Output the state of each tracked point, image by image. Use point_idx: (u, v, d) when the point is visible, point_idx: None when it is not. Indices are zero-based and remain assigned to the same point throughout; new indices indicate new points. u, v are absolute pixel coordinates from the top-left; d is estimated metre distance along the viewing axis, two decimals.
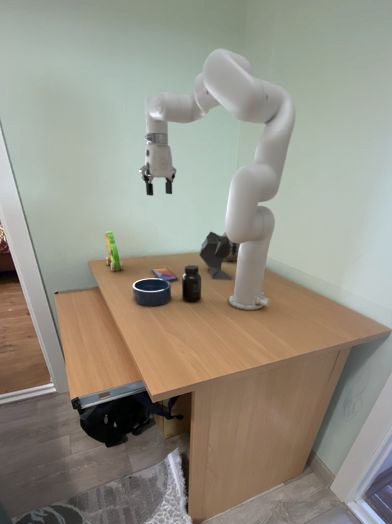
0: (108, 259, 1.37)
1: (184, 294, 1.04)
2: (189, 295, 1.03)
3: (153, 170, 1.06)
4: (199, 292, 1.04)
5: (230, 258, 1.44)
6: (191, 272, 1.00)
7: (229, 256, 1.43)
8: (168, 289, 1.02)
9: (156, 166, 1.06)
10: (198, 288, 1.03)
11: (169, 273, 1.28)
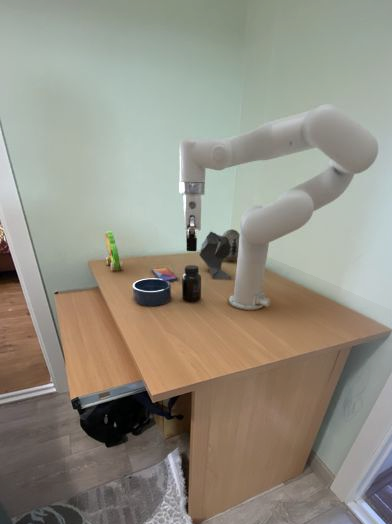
0: (108, 259, 1.37)
1: (184, 294, 1.04)
2: (189, 295, 1.03)
3: (200, 223, 0.90)
4: (199, 292, 1.04)
5: (230, 258, 1.44)
6: (191, 272, 1.00)
7: (229, 256, 1.43)
8: (168, 289, 1.02)
9: (200, 218, 0.90)
10: (198, 288, 1.03)
11: (169, 273, 1.28)
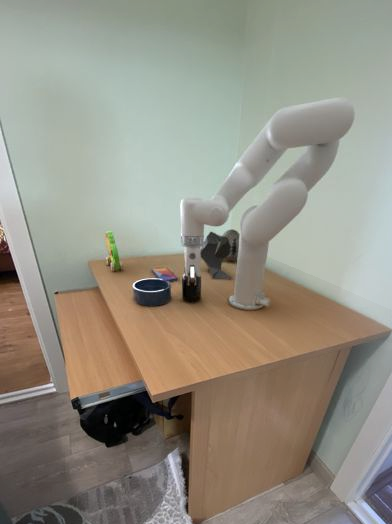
0: (108, 259, 1.37)
1: (184, 294, 1.04)
2: None
3: (199, 271, 0.98)
4: (199, 292, 1.04)
5: (230, 258, 1.44)
6: None
7: (229, 256, 1.43)
8: (168, 289, 1.02)
9: None
10: (198, 288, 1.03)
11: (169, 273, 1.28)
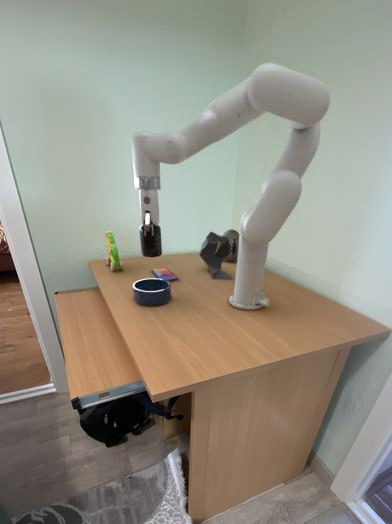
0: (108, 259, 1.37)
1: (142, 247, 0.95)
2: None
3: (156, 219, 0.88)
4: (159, 245, 0.95)
5: (230, 258, 1.44)
6: None
7: (229, 256, 1.43)
8: (168, 289, 1.02)
9: (157, 214, 0.89)
10: (157, 240, 0.94)
11: (169, 273, 1.28)
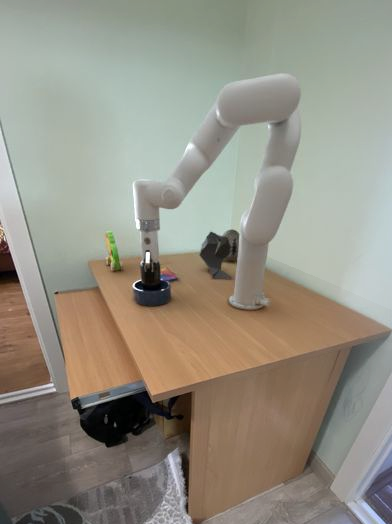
0: (108, 259, 1.37)
1: (142, 281, 1.01)
2: None
3: (156, 257, 0.94)
4: (158, 279, 1.01)
5: (230, 258, 1.44)
6: None
7: (229, 256, 1.43)
8: (168, 289, 1.02)
9: (156, 252, 0.95)
10: (157, 275, 1.00)
11: (169, 273, 1.28)
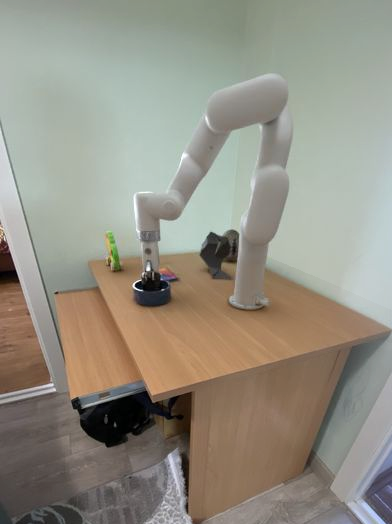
0: (108, 259, 1.37)
1: None
2: None
3: (157, 267, 0.96)
4: None
5: (230, 258, 1.44)
6: None
7: (229, 256, 1.43)
8: (168, 289, 1.02)
9: (157, 262, 0.97)
10: (157, 286, 1.02)
11: (169, 273, 1.28)
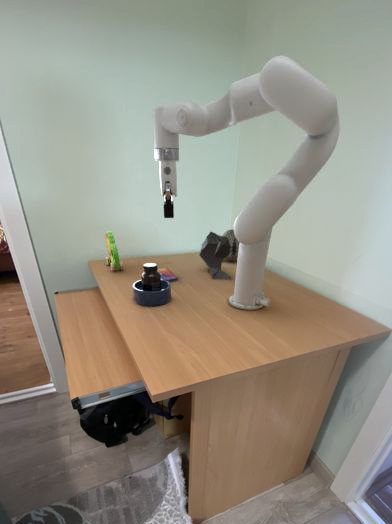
0: (108, 259, 1.37)
1: None
2: None
3: (175, 189, 0.93)
4: None
5: (230, 258, 1.44)
6: (149, 270, 0.99)
7: (229, 256, 1.43)
8: (168, 289, 1.02)
9: (176, 185, 0.93)
10: (157, 286, 1.02)
11: (169, 273, 1.28)
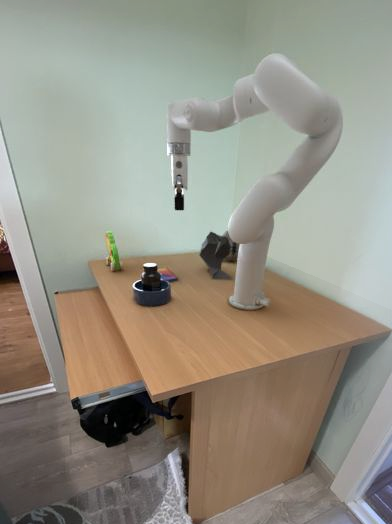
0: (108, 259, 1.37)
1: None
2: None
3: (186, 183, 0.97)
4: None
5: (230, 258, 1.44)
6: (149, 270, 0.99)
7: (229, 256, 1.43)
8: (168, 289, 1.02)
9: (187, 178, 0.97)
10: (157, 286, 1.02)
11: (169, 273, 1.28)
